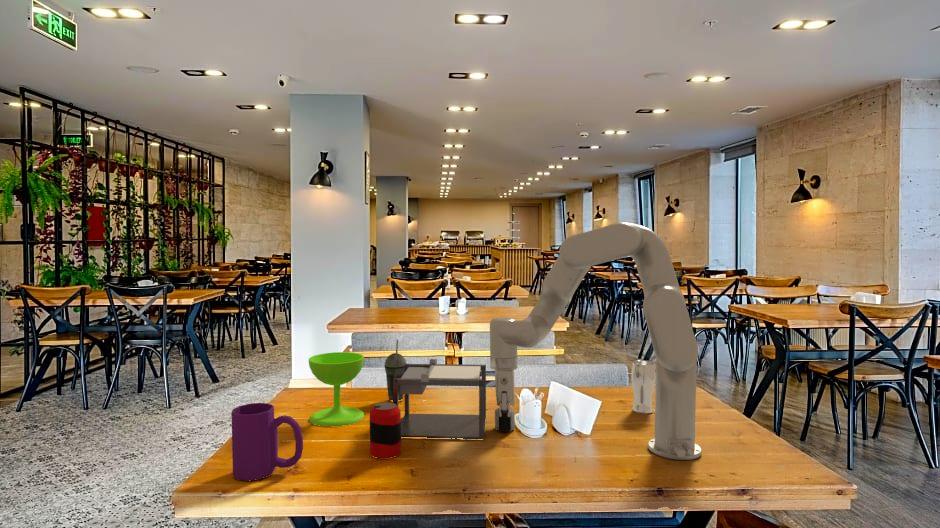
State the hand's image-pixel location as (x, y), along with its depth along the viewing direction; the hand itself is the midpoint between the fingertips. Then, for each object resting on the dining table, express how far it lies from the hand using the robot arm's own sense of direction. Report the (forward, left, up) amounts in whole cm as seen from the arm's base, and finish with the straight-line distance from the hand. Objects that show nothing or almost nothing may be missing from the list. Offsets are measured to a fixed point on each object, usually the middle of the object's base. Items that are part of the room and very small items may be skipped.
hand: (504, 426), depth 155 cm
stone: (0, 0, -1) cm, 1 cm away
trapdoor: (0, +18, +11) cm, 20 cm away
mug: (-31, +54, -1) cm, 62 cm away
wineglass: (+7, +50, -1) cm, 50 cm away
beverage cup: (+25, +36, -1) cm, 44 cm away
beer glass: (+19, -42, -1) cm, 47 cm away
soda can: (-19, +30, -1) cm, 35 cm away
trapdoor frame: (0, +18, -1) cm, 18 cm away
